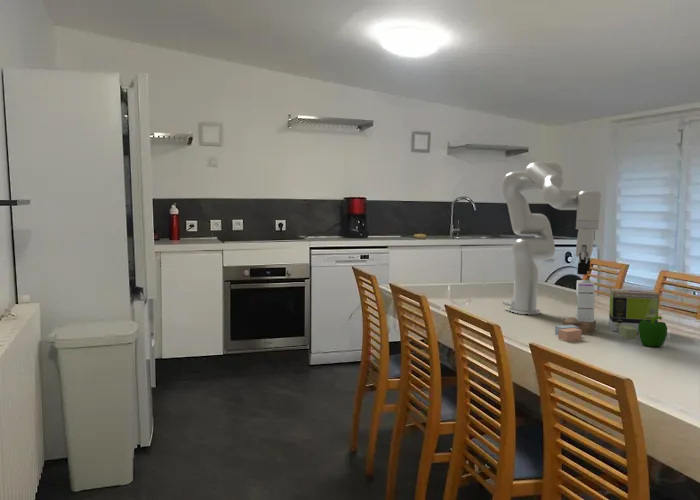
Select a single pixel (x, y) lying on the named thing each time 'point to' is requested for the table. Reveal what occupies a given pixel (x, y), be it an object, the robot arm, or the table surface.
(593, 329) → the walnut block
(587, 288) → the syrup box
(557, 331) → the slate brick
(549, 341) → the table surface
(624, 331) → the olive brick
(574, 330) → the terracotta brick
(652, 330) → the bell pepper
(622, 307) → the tea box
